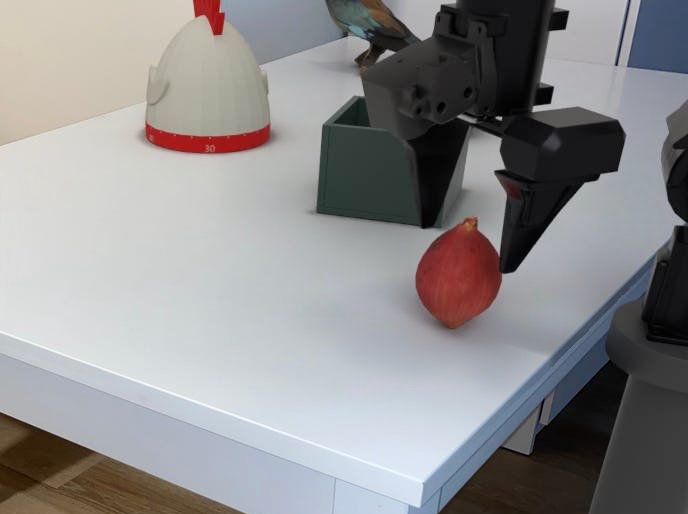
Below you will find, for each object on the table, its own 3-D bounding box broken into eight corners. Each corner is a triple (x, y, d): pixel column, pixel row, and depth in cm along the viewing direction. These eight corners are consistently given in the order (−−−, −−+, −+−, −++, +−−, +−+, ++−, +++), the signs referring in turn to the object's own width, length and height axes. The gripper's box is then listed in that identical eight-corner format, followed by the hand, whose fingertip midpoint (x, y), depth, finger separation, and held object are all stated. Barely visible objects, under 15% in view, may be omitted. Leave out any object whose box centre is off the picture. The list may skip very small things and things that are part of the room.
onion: (401, 336, 70) (416, 223, 65) (419, 305, 74) (434, 197, 69) (484, 350, 68) (506, 235, 63) (497, 318, 73) (519, 207, 68)
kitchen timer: (245, 115, 118) (249, -31, 109) (288, 146, 108) (297, -12, 98) (131, 124, 114) (126, -26, 105) (165, 157, 104) (162, -6, 95)
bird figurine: (460, 60, 139) (400, -87, 130) (453, 77, 132) (389, -78, 123) (373, 107, 146) (311, -30, 137) (362, 125, 138) (296, -18, 130)
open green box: (461, 190, 96) (474, 106, 91) (440, 228, 88) (454, 137, 83) (346, 177, 99) (353, 95, 95) (315, 212, 91) (322, 124, 86)
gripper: (309, -26, 62) (295, 223, 72) (494, 25, 49) (446, 322, 58) (456, -35, 66) (424, 202, 76) (665, 9, 53) (594, 291, 62)
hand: (464, 249), depth 68 cm, fingers open, 9 cm apart
